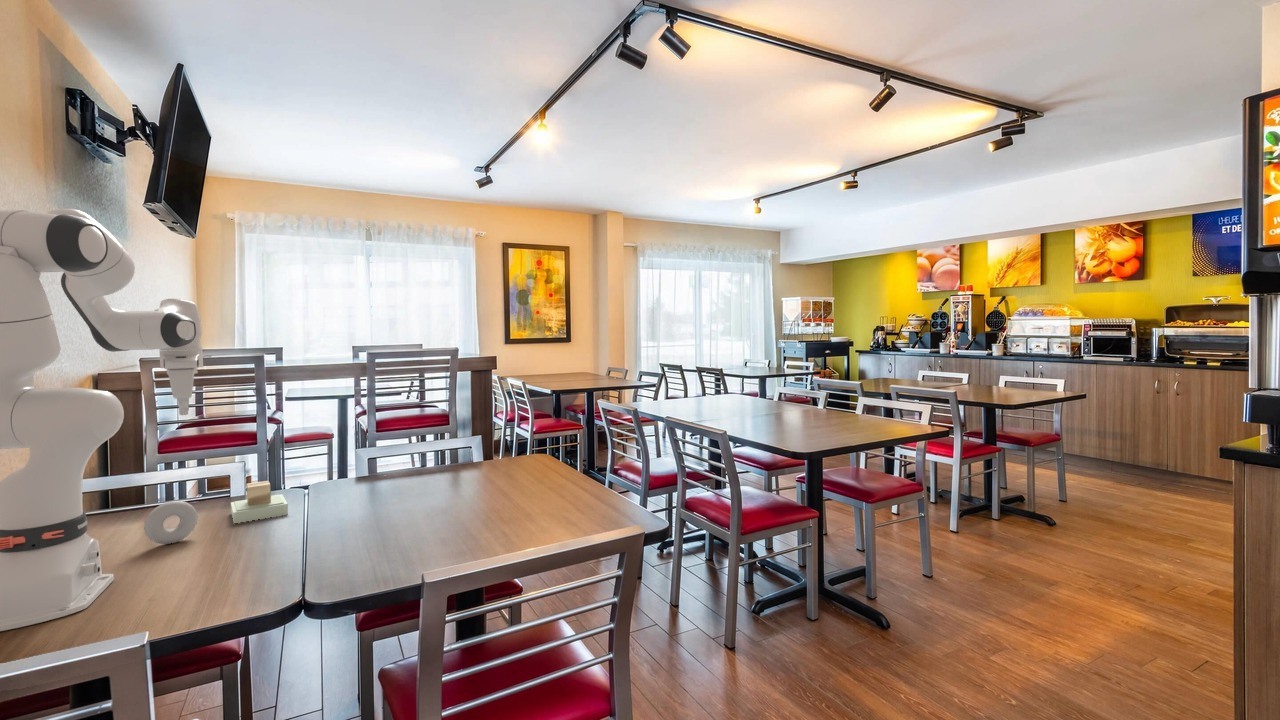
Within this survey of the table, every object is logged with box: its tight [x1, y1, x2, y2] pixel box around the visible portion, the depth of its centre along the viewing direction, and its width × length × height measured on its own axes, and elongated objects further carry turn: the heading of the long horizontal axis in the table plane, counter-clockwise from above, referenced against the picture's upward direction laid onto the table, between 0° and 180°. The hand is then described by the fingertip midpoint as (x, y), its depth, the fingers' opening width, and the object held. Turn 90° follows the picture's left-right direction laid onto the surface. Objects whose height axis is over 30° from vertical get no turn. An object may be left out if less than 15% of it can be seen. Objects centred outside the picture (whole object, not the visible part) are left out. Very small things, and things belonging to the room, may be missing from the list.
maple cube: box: [246, 480, 272, 506], centre depth 153 cm, size 5×5×5 cm
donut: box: [143, 500, 199, 545], centre depth 132 cm, size 10×4×10 cm, turn 147°
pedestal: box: [230, 493, 289, 524], centre depth 153 cm, size 12×12×3 cm
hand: (184, 413), depth 148 cm, fingers open, 8 cm apart
